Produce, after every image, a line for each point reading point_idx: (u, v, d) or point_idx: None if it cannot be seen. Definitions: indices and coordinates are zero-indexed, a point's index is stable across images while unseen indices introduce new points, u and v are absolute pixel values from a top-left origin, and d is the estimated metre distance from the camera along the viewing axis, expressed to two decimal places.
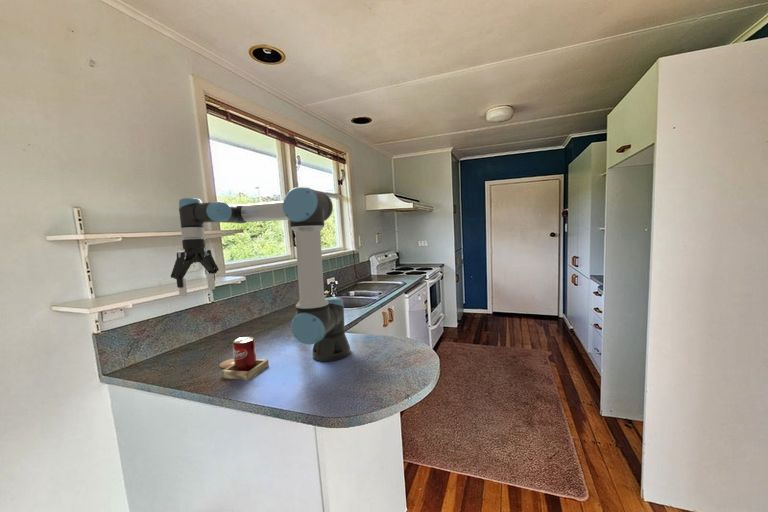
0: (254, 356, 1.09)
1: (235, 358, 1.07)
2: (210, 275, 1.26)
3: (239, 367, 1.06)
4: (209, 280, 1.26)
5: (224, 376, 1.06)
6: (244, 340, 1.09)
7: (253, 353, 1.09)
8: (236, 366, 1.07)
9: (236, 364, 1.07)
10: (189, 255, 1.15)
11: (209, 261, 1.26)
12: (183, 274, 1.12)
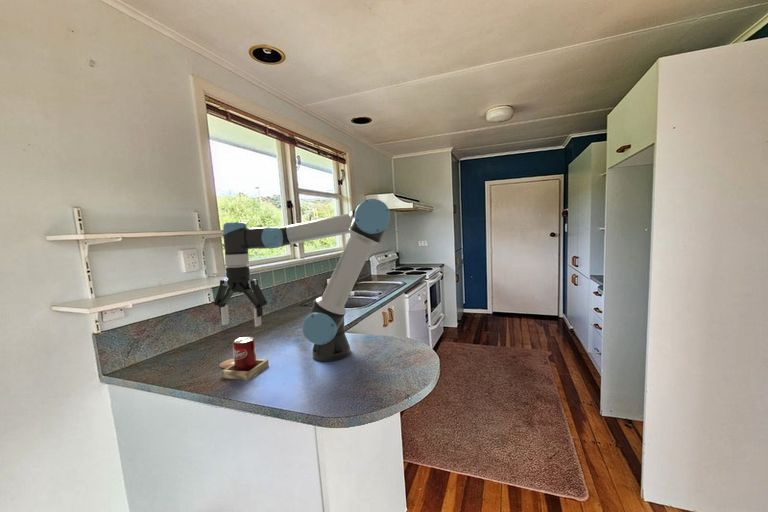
0: (254, 356, 1.09)
1: (235, 358, 1.07)
2: None
3: (239, 367, 1.06)
4: None
5: (224, 376, 1.06)
6: (244, 340, 1.09)
7: (253, 353, 1.09)
8: (236, 366, 1.07)
9: (236, 364, 1.07)
10: (228, 284, 1.08)
11: None
12: (221, 303, 1.09)
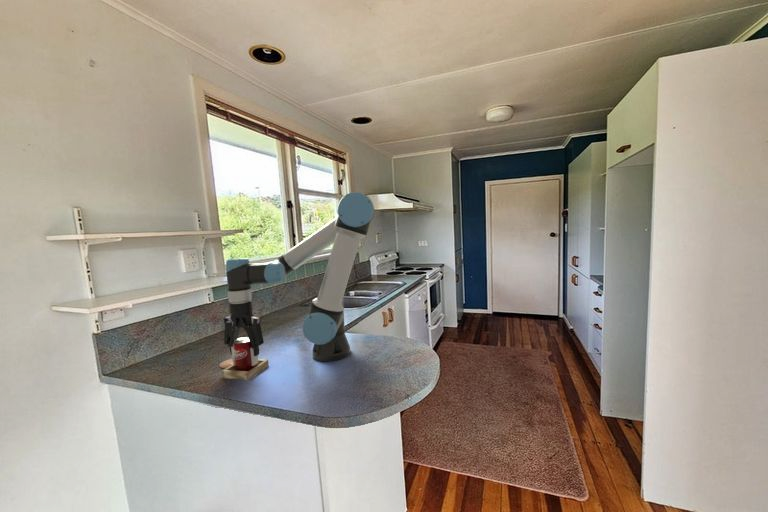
0: None
1: (235, 358, 1.07)
2: None
3: (239, 367, 1.06)
4: None
5: (224, 376, 1.06)
6: (244, 340, 1.09)
7: None
8: (236, 366, 1.07)
9: (236, 364, 1.07)
10: (232, 319, 1.09)
11: None
12: (230, 342, 1.09)
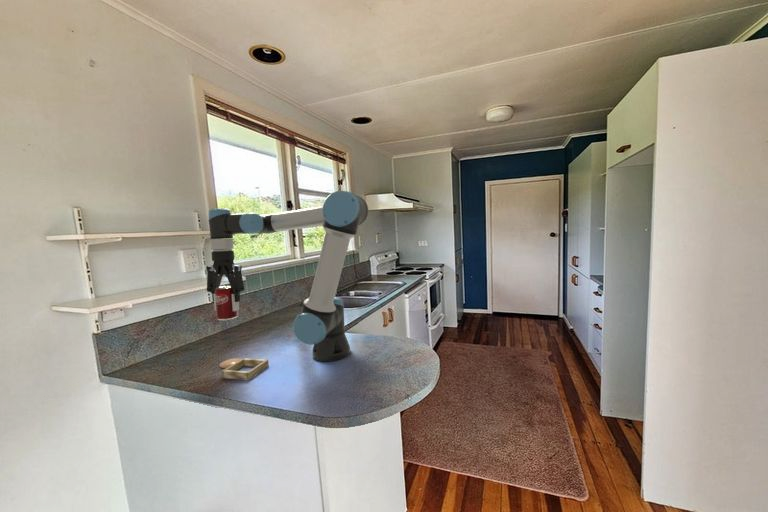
0: None
1: (217, 303, 1.13)
2: None
3: (221, 311, 1.12)
4: None
5: (224, 376, 1.06)
6: (226, 287, 1.15)
7: None
8: (217, 311, 1.13)
9: (217, 309, 1.13)
10: (214, 267, 1.14)
11: None
12: (213, 289, 1.15)
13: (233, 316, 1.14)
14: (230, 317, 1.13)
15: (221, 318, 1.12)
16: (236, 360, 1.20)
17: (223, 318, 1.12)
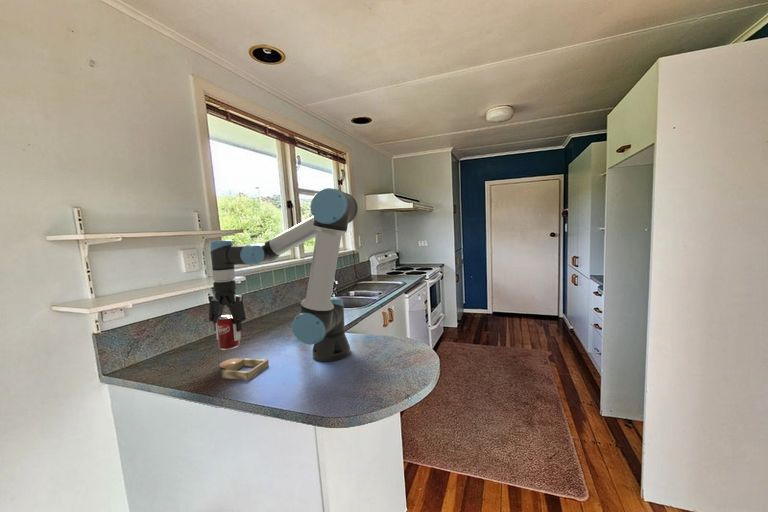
0: None
1: (218, 333, 1.14)
2: None
3: (222, 341, 1.14)
4: None
5: (224, 376, 1.06)
6: (227, 317, 1.16)
7: None
8: (219, 341, 1.14)
9: (219, 339, 1.14)
10: (216, 297, 1.16)
11: None
12: (215, 318, 1.17)
13: (235, 345, 1.16)
14: (232, 346, 1.15)
15: (223, 348, 1.14)
16: (236, 360, 1.20)
17: (225, 348, 1.14)
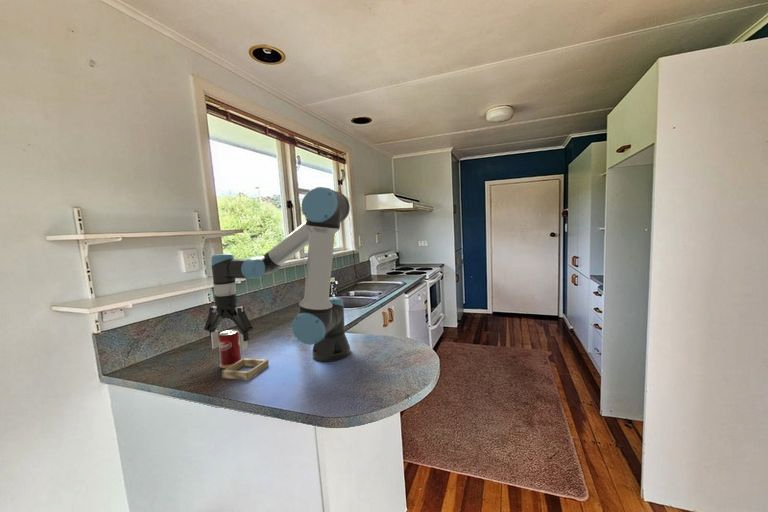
0: (238, 347, 1.17)
1: (220, 349, 1.15)
2: None
3: (224, 357, 1.14)
4: None
5: (224, 376, 1.06)
6: (229, 333, 1.16)
7: (237, 345, 1.17)
8: (221, 357, 1.15)
9: (221, 355, 1.15)
10: (217, 310, 1.16)
11: None
12: (211, 328, 1.18)
13: (237, 361, 1.16)
14: (234, 362, 1.15)
15: (225, 364, 1.14)
16: None
17: (227, 364, 1.14)
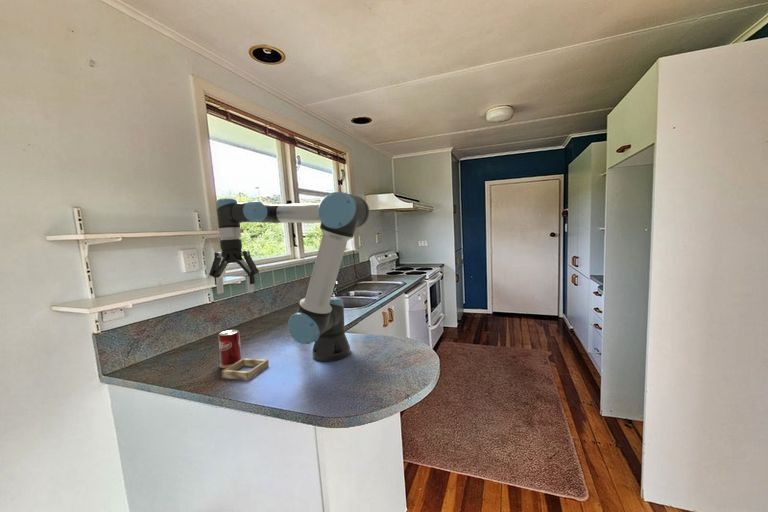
0: (238, 348, 1.17)
1: (220, 349, 1.15)
2: None
3: (225, 357, 1.14)
4: None
5: (224, 376, 1.06)
6: (229, 333, 1.17)
7: (237, 345, 1.17)
8: (221, 357, 1.15)
9: (221, 355, 1.15)
10: (222, 255, 1.18)
11: None
12: (216, 273, 1.19)
13: (237, 361, 1.16)
14: (234, 362, 1.15)
15: (225, 364, 1.14)
16: None
17: (227, 364, 1.14)
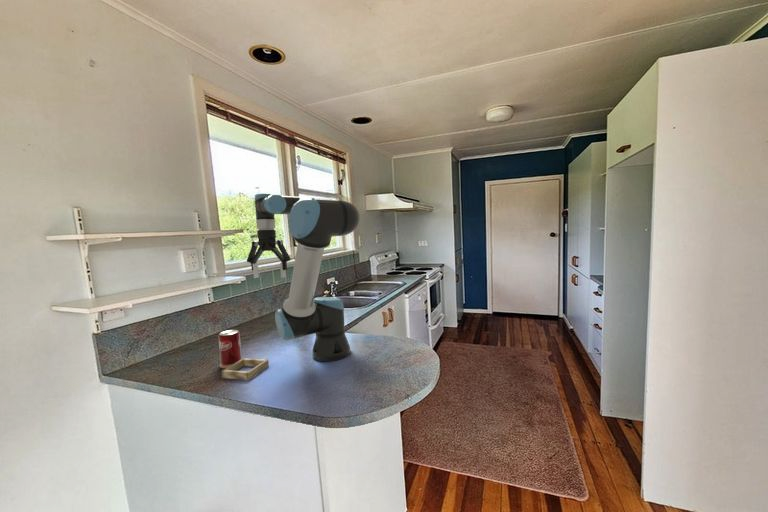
0: (239, 348, 1.17)
1: (220, 349, 1.15)
2: None
3: (225, 357, 1.14)
4: None
5: (224, 376, 1.06)
6: (229, 333, 1.16)
7: (238, 345, 1.17)
8: (221, 357, 1.15)
9: (221, 355, 1.15)
10: (258, 244, 1.33)
11: None
12: (252, 260, 1.34)
13: (237, 361, 1.16)
14: (234, 362, 1.15)
15: (225, 364, 1.14)
16: None
17: (227, 364, 1.14)
